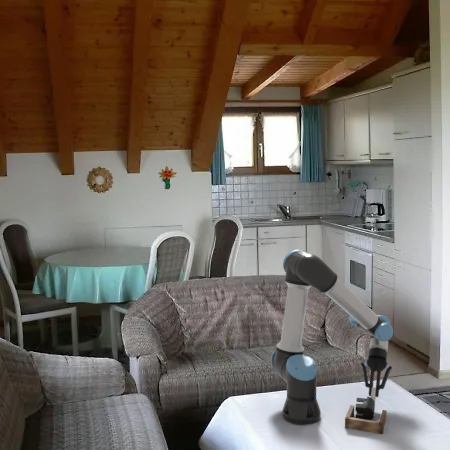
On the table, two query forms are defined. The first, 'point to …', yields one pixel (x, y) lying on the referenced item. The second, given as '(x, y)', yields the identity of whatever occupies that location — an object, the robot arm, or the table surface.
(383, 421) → the corral
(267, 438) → the table surface
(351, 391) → the table surface
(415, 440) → the table surface
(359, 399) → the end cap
